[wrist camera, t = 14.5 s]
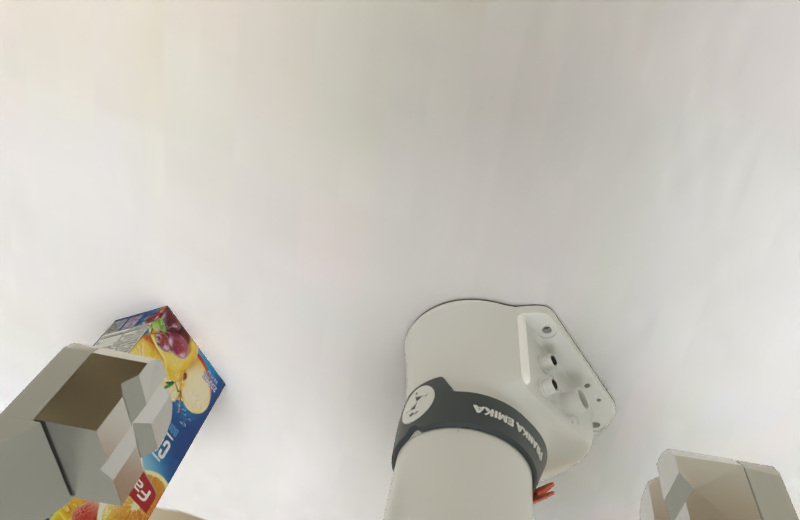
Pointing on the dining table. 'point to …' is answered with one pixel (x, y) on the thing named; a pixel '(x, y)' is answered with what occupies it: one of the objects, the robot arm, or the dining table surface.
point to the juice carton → (191, 404)
